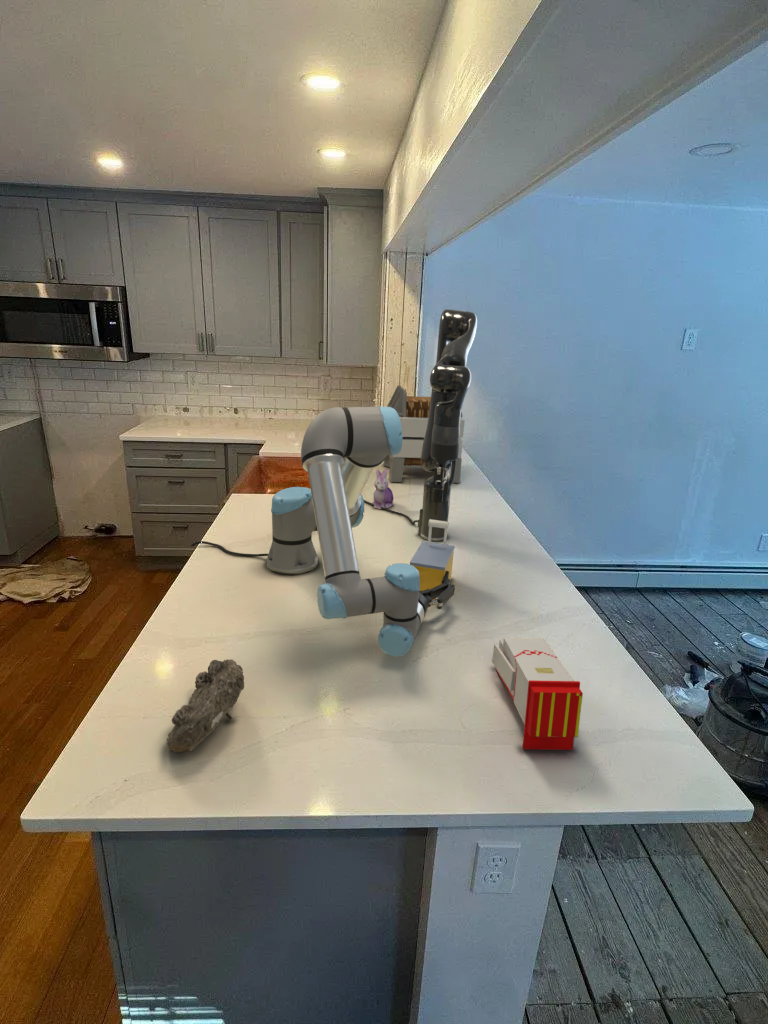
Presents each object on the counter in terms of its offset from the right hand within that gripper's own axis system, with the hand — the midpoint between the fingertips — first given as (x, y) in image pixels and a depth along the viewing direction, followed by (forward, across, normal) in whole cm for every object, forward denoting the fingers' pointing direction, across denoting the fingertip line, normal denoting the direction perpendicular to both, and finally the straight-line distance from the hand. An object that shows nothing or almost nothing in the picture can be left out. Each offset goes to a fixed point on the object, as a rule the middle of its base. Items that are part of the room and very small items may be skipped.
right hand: (440, 497), depth 159 cm
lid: (+16, -5, 0) cm, 17 cm away
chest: (+25, -6, 0) cm, 26 cm away
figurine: (+25, +57, +32) cm, 70 cm away
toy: (+25, -49, -29) cm, 62 cm away
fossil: (+25, -73, +28) cm, 83 cm away
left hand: (+19, -10, 0) cm, 21 cm away
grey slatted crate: (+25, +110, +29) cm, 117 cm away
